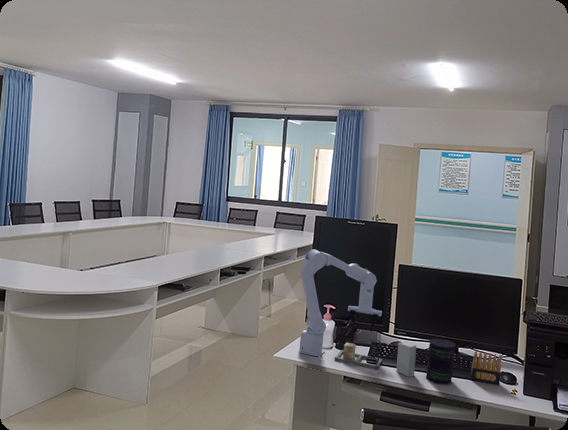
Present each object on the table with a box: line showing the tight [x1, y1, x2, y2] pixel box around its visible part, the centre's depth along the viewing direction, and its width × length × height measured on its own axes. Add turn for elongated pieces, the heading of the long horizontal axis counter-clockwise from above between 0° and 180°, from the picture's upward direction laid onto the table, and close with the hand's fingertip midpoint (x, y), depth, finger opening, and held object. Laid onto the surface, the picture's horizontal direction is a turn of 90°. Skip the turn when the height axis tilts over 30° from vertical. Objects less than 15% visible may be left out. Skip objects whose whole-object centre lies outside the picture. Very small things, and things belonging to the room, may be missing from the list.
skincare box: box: [395, 341, 417, 377], centre depth 207 cm, size 6×4×12 cm
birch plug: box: [342, 342, 357, 360], centre depth 218 cm, size 4×4×6 cm
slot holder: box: [334, 350, 383, 370], centre depth 217 cm, size 18×10×1 cm, turn 69°
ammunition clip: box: [470, 350, 502, 386], centre depth 205 cm, size 11×2×12 cm, turn 72°
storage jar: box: [425, 338, 456, 386], centre depth 203 cm, size 10×10×15 cm
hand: (363, 329), depth 227 cm, fingers open, 7 cm apart
